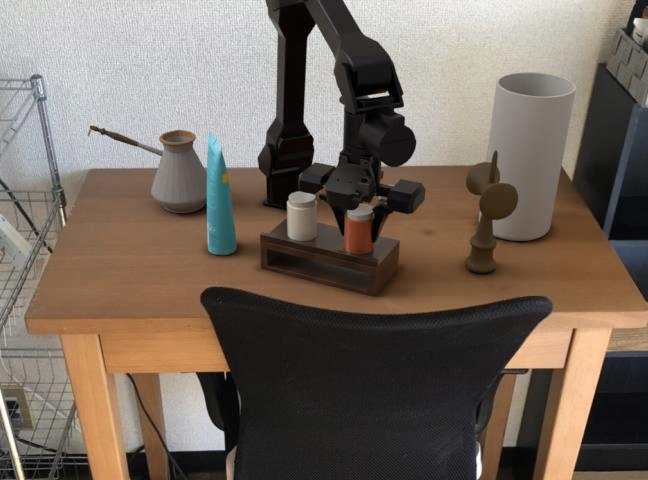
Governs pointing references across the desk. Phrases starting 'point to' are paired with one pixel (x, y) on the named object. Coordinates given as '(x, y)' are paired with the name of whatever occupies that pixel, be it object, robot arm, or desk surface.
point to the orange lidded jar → (359, 229)
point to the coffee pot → (174, 171)
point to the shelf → (329, 259)
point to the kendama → (488, 211)
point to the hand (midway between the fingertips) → (359, 238)
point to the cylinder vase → (530, 147)
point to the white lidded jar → (302, 216)
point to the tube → (219, 202)
